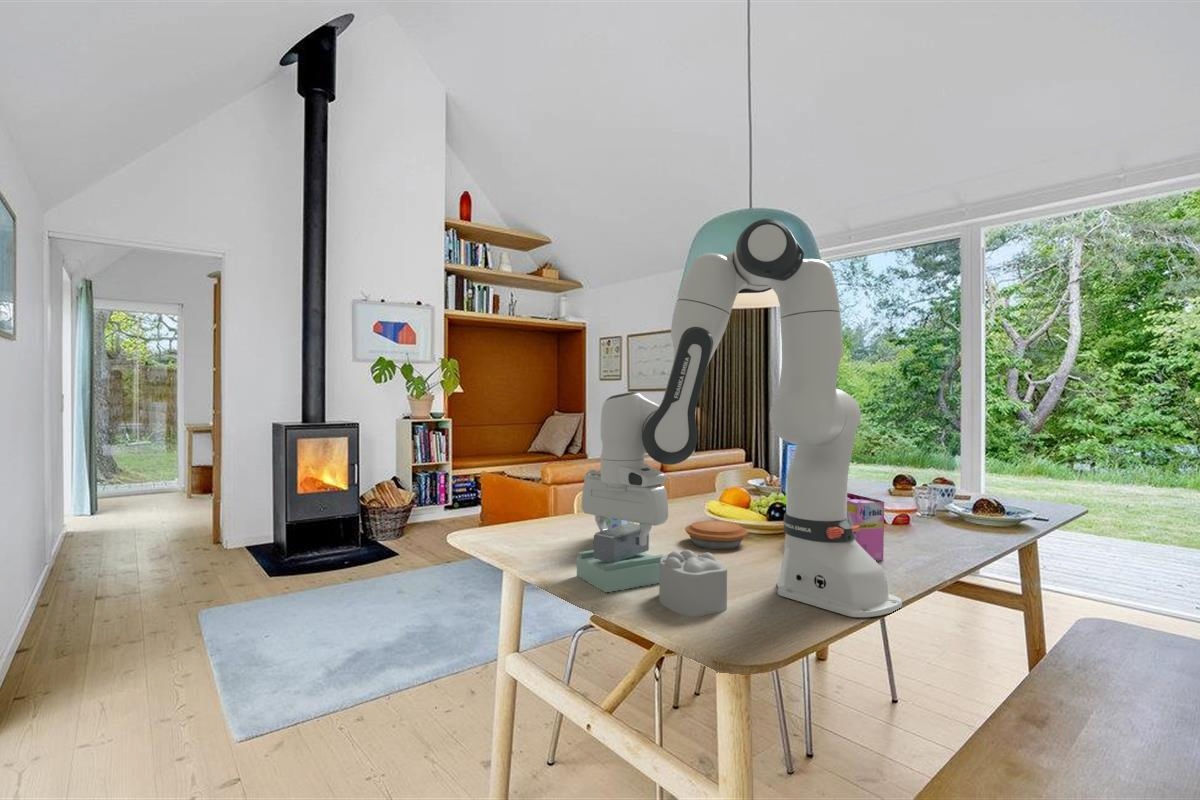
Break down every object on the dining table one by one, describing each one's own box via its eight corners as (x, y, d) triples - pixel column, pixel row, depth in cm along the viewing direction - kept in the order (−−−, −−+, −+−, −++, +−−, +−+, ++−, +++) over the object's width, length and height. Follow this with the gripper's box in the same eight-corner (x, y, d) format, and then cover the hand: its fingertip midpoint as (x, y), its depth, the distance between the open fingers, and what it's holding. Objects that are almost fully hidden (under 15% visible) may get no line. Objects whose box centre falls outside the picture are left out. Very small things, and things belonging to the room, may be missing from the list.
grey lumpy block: (685, 619, 100) (685, 567, 100) (646, 595, 111) (646, 549, 111) (735, 609, 104) (735, 560, 104) (692, 587, 116) (692, 543, 116)
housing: (613, 563, 114) (614, 537, 114) (593, 558, 117) (593, 533, 117) (648, 550, 124) (648, 526, 124) (629, 546, 127) (629, 522, 127)
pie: (674, 538, 155) (674, 519, 155) (727, 534, 159) (728, 516, 159) (702, 554, 140) (702, 533, 140) (759, 549, 145) (760, 528, 145)
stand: (666, 581, 119) (666, 557, 119) (606, 593, 112) (606, 566, 112) (634, 566, 129) (634, 543, 129) (576, 575, 122) (576, 551, 122)
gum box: (792, 538, 156) (792, 486, 156) (817, 536, 158) (818, 485, 158) (856, 563, 133) (857, 502, 133) (885, 560, 135) (886, 501, 135)
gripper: (574, 470, 125) (574, 536, 125) (653, 478, 111) (653, 552, 111) (594, 467, 129) (595, 530, 129) (672, 475, 116) (672, 546, 116)
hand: (622, 541), depth 120 cm, fingers open, 8 cm apart
